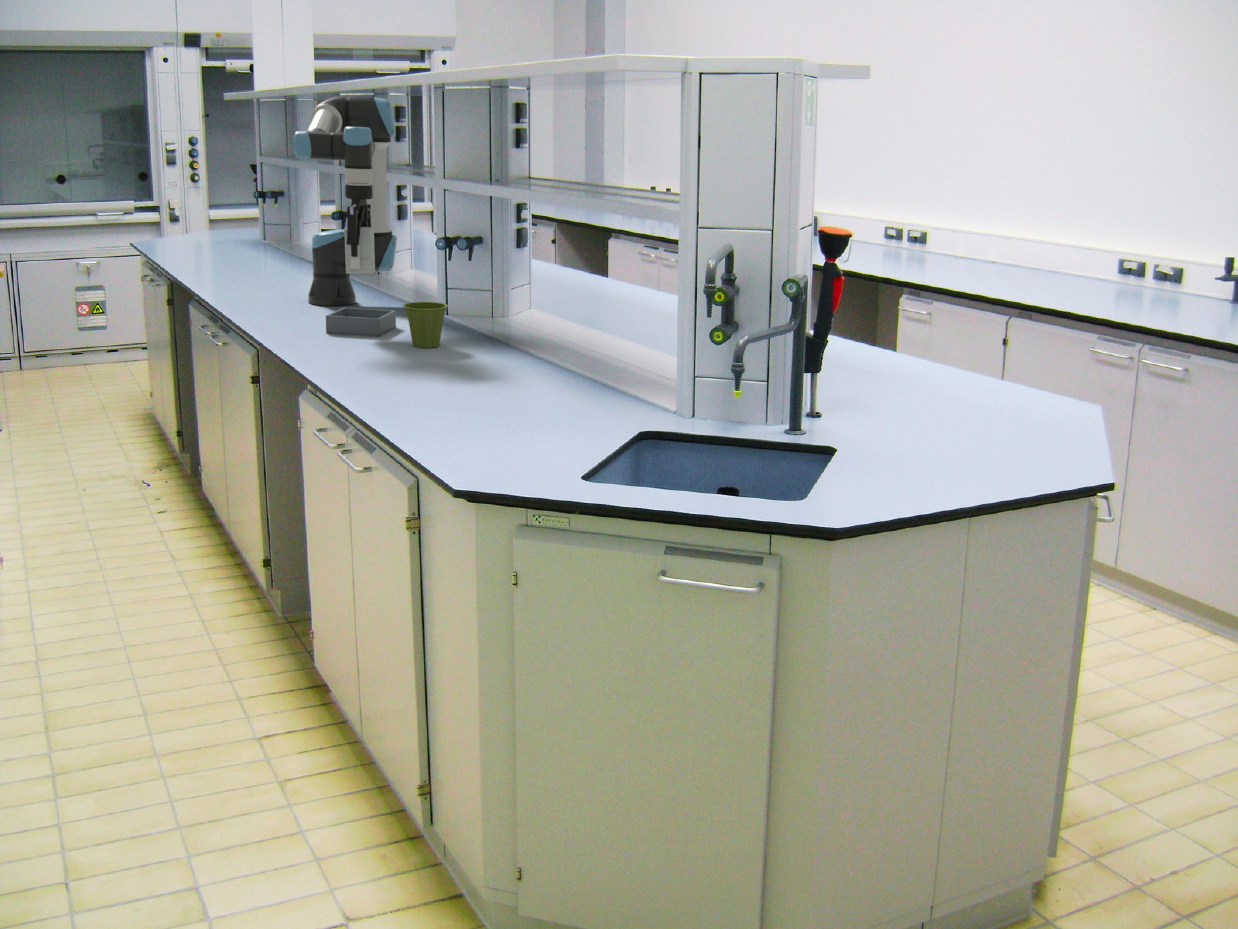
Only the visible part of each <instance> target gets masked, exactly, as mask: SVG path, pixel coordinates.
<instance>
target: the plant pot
mask: <svg viewBox="0 0 1238 929" xmlns="http://www.w3.org/2000/svg"><path fill="white" fill-rule="evenodd" d="M402 307H403V308H405V313H406V317H407V320H408V325H409V331H410V337H411V341H412V346H413V347H415V348H418V349H430V348H433V347H434V348H438V347H439V346H440V345H441V337H442V333H443V332H442V331H443V324H444V317H445V314H446V309H447V308H448V307H449V306H448V304H447V303H442V302H434V301H413V302H407V303H404V304H403V306H402Z"/></svg>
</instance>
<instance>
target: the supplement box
mask: <svg viewBox="0 0 1238 929" xmlns="http://www.w3.org/2000/svg"><path fill="white" fill-rule="evenodd" d="M343 230H344V235H345V262H346V274H350V275H351V274H352V275H353V274H355V275H373V274H374V273H375V272H376V271H375V251H374V227H361V228H360V237H359V245H360V259H361V268H360V269H356V268H350V245H347V243H346V242H347V227H345V228H343Z"/></svg>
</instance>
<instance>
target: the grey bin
mask: <svg viewBox="0 0 1238 929" xmlns="http://www.w3.org/2000/svg"><path fill="white" fill-rule="evenodd" d="M396 312H397V311H396V310H393V309H391V310H390V309H373V308H361V307H360V308H359V307H358V308H357V307H342V308H340V309H338V310H335V311H334V312H330V313H329V314H327V315H325V334H329V335H330V334H333V335H344V336H345V335H348V336H363V337H364V336H365V337H382V336H384V335H386V334H387V333H389V332H390V331H393V330H394V329H396V327H397V313H396Z"/></svg>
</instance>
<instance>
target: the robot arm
mask: <svg viewBox="0 0 1238 929" xmlns="http://www.w3.org/2000/svg"><path fill="white" fill-rule="evenodd" d="M394 117H395V116H394V111H393V107H392V103H391V101H390V100H389V99H387V98H383V97H382V98H381V97H376V96H374V97H364V96H345V95H343V96H342V95H340V96H339V95H338V96H334V97H332V98H331V97H330V98H328V99H325V100H323V101H322V102H320V103H319V104H317V105H316V106H315V107H314V108H313V110H312V112H311V114H310V117H309V120H310V121H309V122H310V124H309V126H308V128H307V130H303V131H299V130H298V131H295V133H294V134H293V150H294V155H295V157H296V158H298V159H303V160H305V159H306V160H324V161H325V160H332V161H344V171H343V172H342V174H343V176H344V181H345V183H346V184H345V186H344V196H345V197H344V198H346V199H348V200H351V202H350V206H347V208H346V210H347V211H346V213H347V223H346V224H347V226H346V228H347V242H346V243H347V245H350V268H356V269H360V268H361V259H360V245H359V237H360V228H361V227H374V251H375V272H377V273H379V272H390V271H391V270H393V269H394V264H395V258H396V250H397V239H398V237H397V235H395V234H393V229H392V228H391V227H390V225H388V192H387V191H388V190H387V188H388V187H387V186H388V184H387V183H388V182H387V180H388V179H387V148H388V146H390V145H391V143H392V138H395V137H396V126H395V118H394ZM311 240H312V241H311V242H312V243H311V244H312V245H311V249H312V276H313V277H312V283H311V285H310V289H309V292H308V296H307V298H308V303H309V304H311V305H314V306H315V305H316V306H328V307H329V306H330V307H332V306H334V307H337V306H339V307H340V306H350V305H354V304H356V303H357V299H356V298H357V296H356V292H355V290H354V287H353V284H352V281H351V274H346V262H345V235H344V229H333V230H331V229H330V230H324V231H320V232H317V233H314V234H313V235H312V239H311Z"/></svg>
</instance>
